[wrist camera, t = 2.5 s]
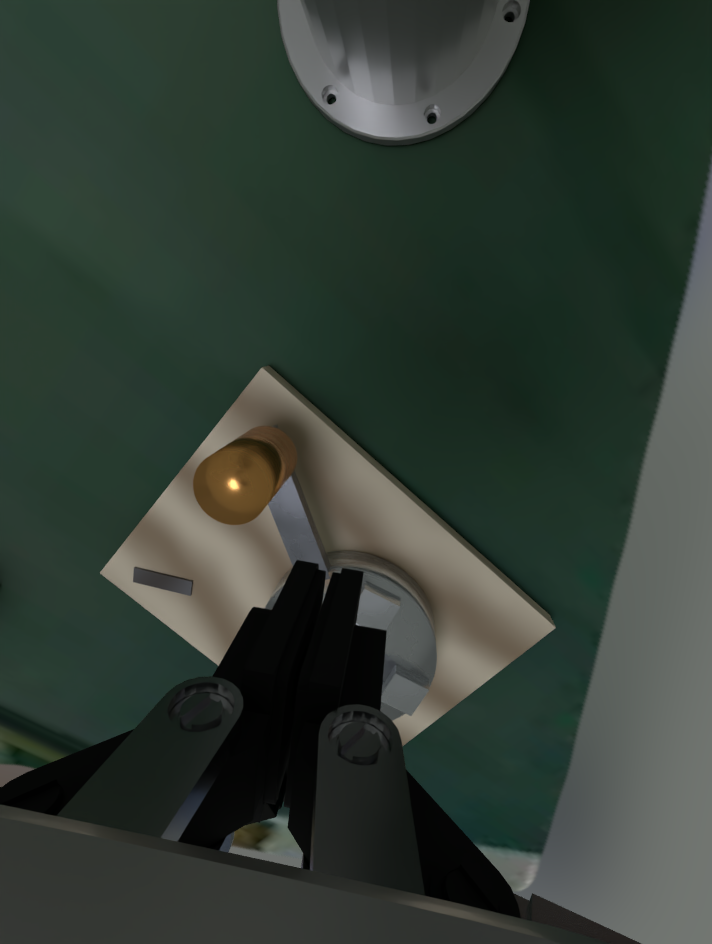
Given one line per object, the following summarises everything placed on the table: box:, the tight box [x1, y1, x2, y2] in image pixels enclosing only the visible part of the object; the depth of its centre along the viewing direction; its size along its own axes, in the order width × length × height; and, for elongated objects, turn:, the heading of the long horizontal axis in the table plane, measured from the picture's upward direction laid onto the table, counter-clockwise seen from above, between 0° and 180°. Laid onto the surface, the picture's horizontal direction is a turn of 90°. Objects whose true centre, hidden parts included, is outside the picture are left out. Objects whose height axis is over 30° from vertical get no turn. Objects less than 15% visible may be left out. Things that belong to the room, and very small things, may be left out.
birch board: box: [100, 366, 556, 746], centre depth 35 cm, size 20×26×2 cm
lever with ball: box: [193, 424, 437, 721], centre depth 29 cm, size 22×12×9 cm, turn 19°
